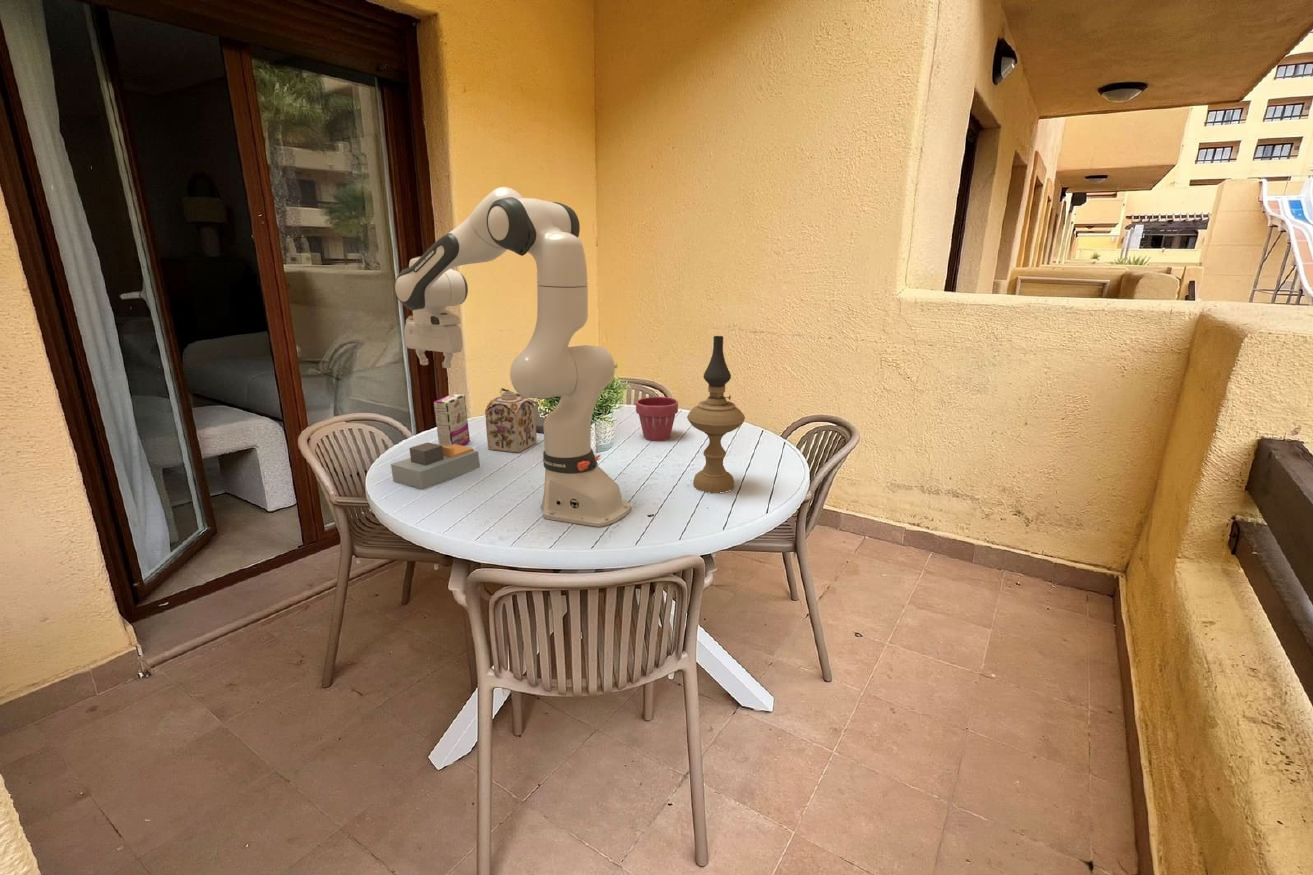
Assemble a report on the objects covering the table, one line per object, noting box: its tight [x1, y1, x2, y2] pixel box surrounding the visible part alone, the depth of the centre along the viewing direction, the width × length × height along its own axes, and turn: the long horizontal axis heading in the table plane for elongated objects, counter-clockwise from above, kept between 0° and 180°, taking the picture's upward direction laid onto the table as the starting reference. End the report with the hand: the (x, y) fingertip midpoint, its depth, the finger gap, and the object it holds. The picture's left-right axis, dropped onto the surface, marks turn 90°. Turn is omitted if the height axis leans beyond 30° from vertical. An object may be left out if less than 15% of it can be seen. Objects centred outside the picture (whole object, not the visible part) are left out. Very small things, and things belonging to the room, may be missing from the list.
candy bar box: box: [433, 393, 471, 446], centre depth 187 cm, size 11×5×16 cm, turn 168°
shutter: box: [436, 443, 475, 458], centre depth 168 cm, size 8×8×3 cm
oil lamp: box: [686, 335, 746, 494], centre depth 151 cm, size 15×15×40 cm
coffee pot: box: [499, 387, 545, 433], centre depth 207 cm, size 21×12×15 cm, turn 87°
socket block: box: [390, 445, 481, 491], centre depth 164 cm, size 12×20×5 cm, turn 150°
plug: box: [409, 441, 444, 466], centre depth 161 cm, size 6×6×8 cm
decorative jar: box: [484, 391, 538, 454], centre depth 187 cm, size 12×12×18 cm
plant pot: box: [635, 396, 679, 442], centre depth 198 cm, size 14×14×13 cm
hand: (435, 366), depth 166 cm, fingers open, 8 cm apart
